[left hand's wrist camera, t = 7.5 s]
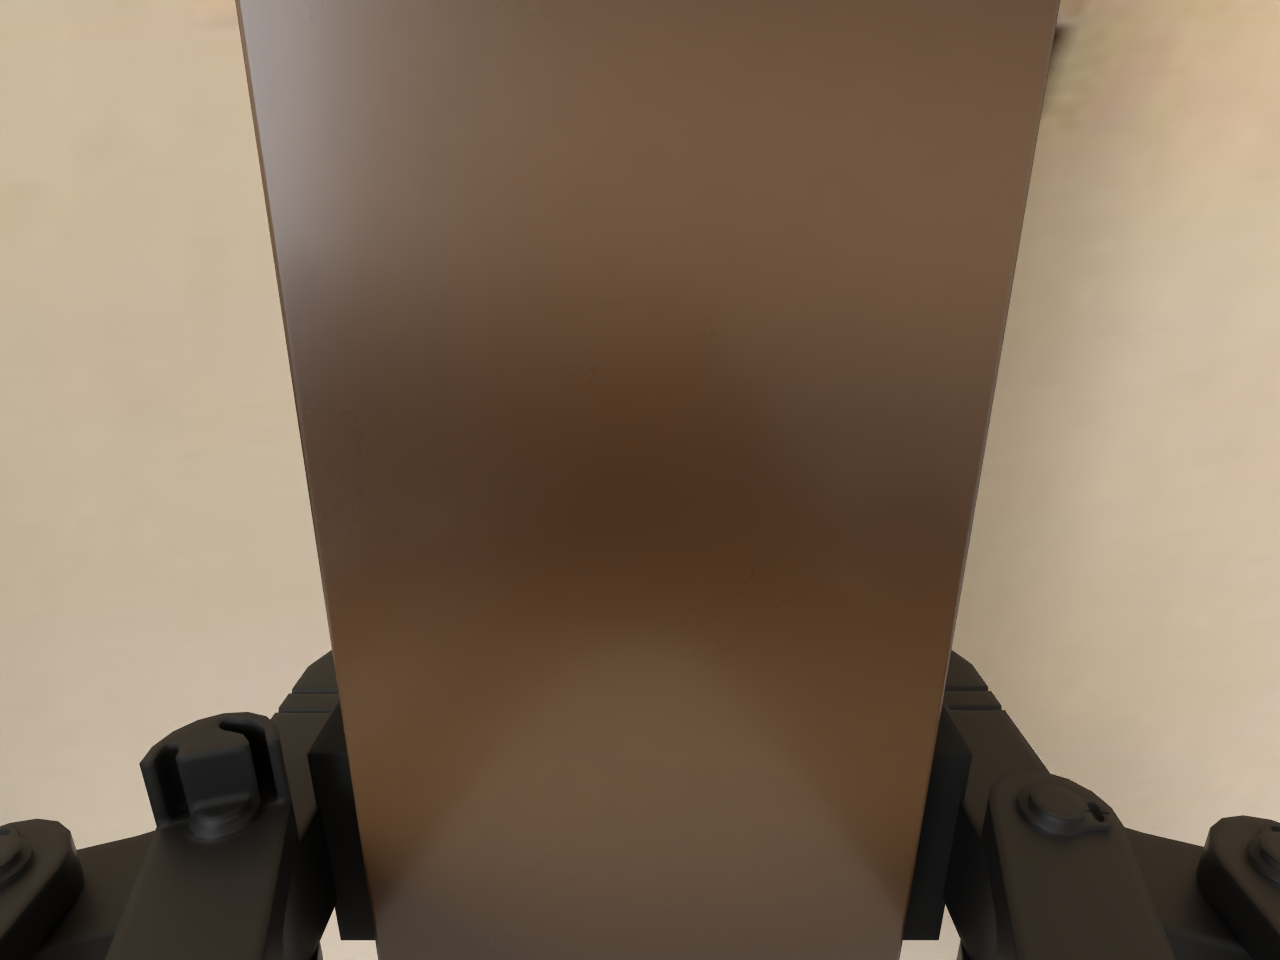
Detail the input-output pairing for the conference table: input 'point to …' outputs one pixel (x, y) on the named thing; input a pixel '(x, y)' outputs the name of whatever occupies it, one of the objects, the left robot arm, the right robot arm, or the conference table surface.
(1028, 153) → the bar
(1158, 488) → the conference table surface
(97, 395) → the conference table surface
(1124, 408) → the conference table surface
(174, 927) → the left robot arm
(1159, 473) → the conference table surface
